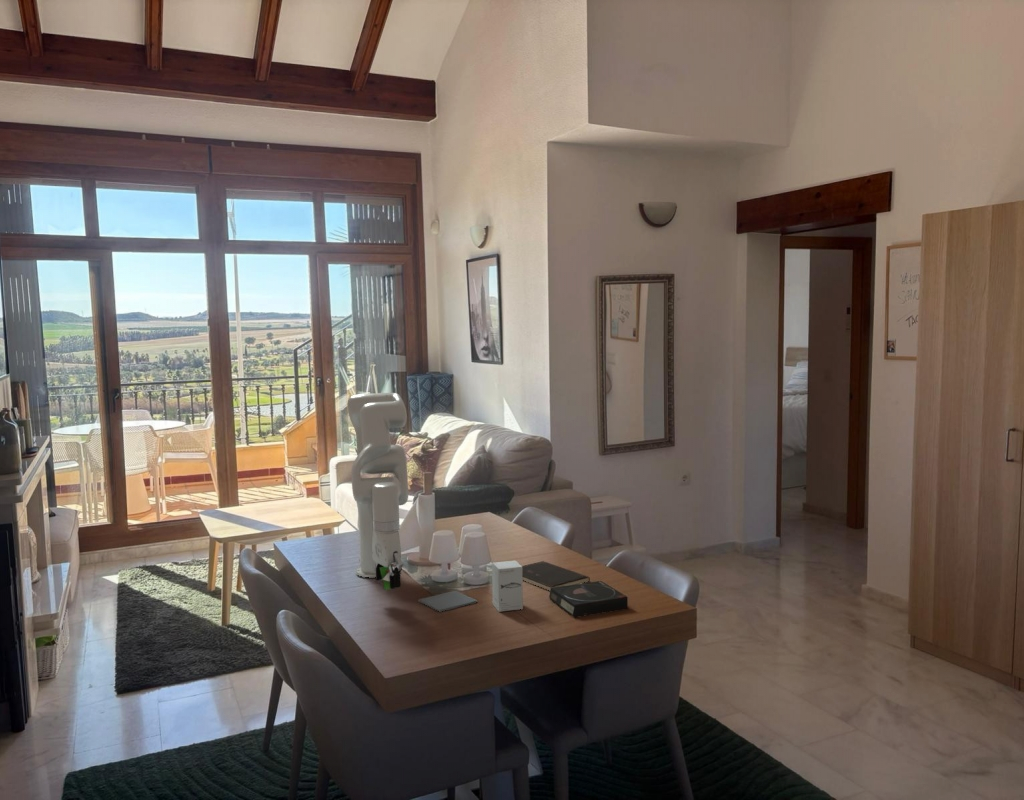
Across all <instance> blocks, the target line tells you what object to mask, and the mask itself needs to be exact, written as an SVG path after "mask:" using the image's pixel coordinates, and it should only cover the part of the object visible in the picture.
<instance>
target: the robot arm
mask: <svg viewBox="0 0 1024 800" xmlns="http://www.w3.org/2000/svg"><path fill="white" fill-rule="evenodd" d="M346 407H347V412H348V416H349V420H350V422H351V424H352V426H353V428H354V431H355V435H356V439H355V440H356V454H357V455H356V457H355V459H354V461H353V463H352V466H351V471H350V473H351V475H350V476H351V486H352V487H351V489H352V496H353V499H354V501H355V502H356V507H357V514H358V515H357V516H358V531H359V536H358V538H359V557H360V558H359V559H358V561H359V563H360V567H357V569H356V571H355V575H357V576H358V575H359V576H358V577H360V576H362V577H361V578H365V577H369V579H375V581H377V580H378V581H377V582H380V581H381V580H380V579H382V577H381V573H380V569H379V568H381V567H389V570H390V573H391V575H390V588H391V589H390V590H393V589H397V588H401V581H402V580H401V575H402V574H401V573H402V571H403V565H404V563H403V561H402V547H401V545H402V544H401V538H400V532H399V531H400V527H401V525H400V506H404V505H405V504H406V503H407V502H408V500H409V481H408V480H409V479H408V466H407V463H408V462H407V456H406V451H405V449H404V447H403V446H402V445H399V444H392V442H391V435H390V429H397V428H398V429H399V428H403V427H405V426H406V424H407V420H408V416H407V409H406V405H405V402H404V400H403V399H402V397H401V395H400V394H399V393H397V392H378V393H376V392H374V393H373V392H372V393H369V392H368V393H358V394H354V395H351V396H350V397H349V398H348V400H347V406H346ZM361 474H363V475H367V476H368V475H369V476H371V475H386V474H391V475H392V476H381V477H380V476H378V477H366V478H365V477H363V478H362V476H361ZM394 567H395V568H394ZM377 573H378V574H377ZM379 573H380V574H379ZM376 576H377V577H376ZM375 577H376V578H377V579H376V578H375Z"/></svg>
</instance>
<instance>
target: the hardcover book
mask: <svg viewBox="0 0 1024 800" xmlns="http://www.w3.org/2000/svg"><path fill="white" fill-rule="evenodd" d="M521 566H522V578H523V580H524V581H523V582H525V581H526V582H525V583H527V582H529V583H528V584H530V583H532V584H531V585H533V584H534V586H535V585H536V586H535V587H538V586H539V587H538V588H540V587H542V588H541V589H543V588H544V590H546V589H547V590H546V591H548V590H549V592H550V590H551V588H554V587H561V586H568V585H575V584H580V583H584V582H585V583H589V582H588V581H590V580H591V578H590V576H588V575H585V574H581V573H579V572H576V571H573V570H571V569H567V568H565V567H562V566H560V565H556V564H553V563H550V562H547V561H545V560H543V561H538V562H532V563H528V564H525V565H521ZM590 582H591V581H590Z"/></svg>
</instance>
